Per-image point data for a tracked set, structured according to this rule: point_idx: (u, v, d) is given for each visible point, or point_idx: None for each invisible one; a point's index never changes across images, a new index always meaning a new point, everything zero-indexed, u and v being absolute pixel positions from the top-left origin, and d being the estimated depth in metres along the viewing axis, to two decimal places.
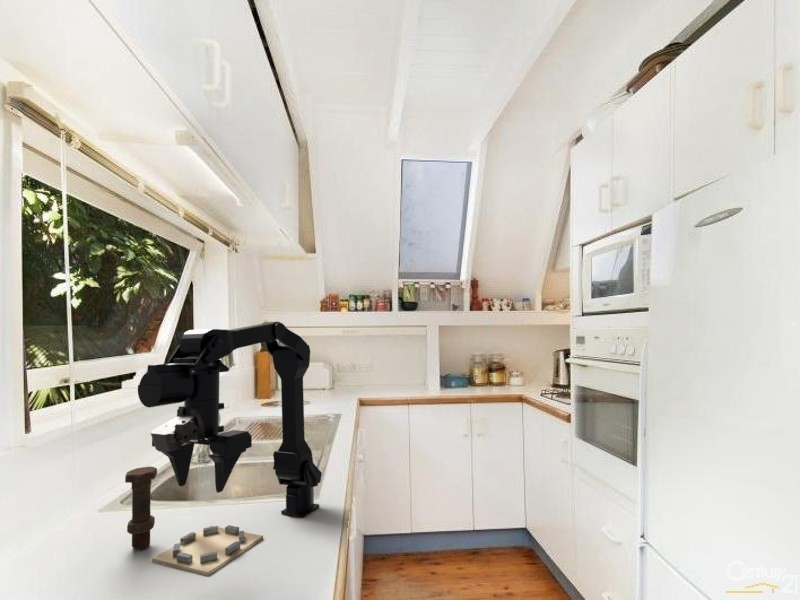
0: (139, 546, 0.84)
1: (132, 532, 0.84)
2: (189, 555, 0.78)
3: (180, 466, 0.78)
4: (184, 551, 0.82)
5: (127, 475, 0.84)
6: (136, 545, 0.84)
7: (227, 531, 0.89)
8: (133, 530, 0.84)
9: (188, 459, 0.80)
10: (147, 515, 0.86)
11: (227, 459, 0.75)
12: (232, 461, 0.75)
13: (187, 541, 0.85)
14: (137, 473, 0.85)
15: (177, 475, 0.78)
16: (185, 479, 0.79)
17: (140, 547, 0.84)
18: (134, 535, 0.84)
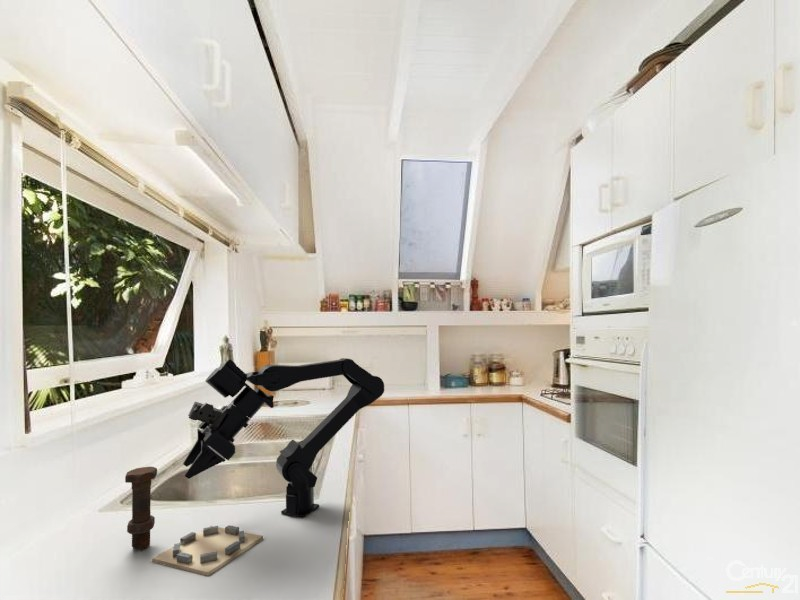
0: (139, 546, 0.84)
1: (132, 532, 0.84)
2: (189, 555, 0.78)
3: (195, 451, 0.96)
4: (184, 551, 0.82)
5: (127, 475, 0.84)
6: (136, 545, 0.84)
7: (227, 531, 0.89)
8: (133, 530, 0.84)
9: None
10: (147, 515, 0.86)
11: (209, 457, 0.87)
12: (211, 462, 0.87)
13: (187, 541, 0.85)
14: (137, 473, 0.85)
15: None
16: (190, 463, 0.95)
17: (140, 547, 0.84)
18: (134, 535, 0.84)
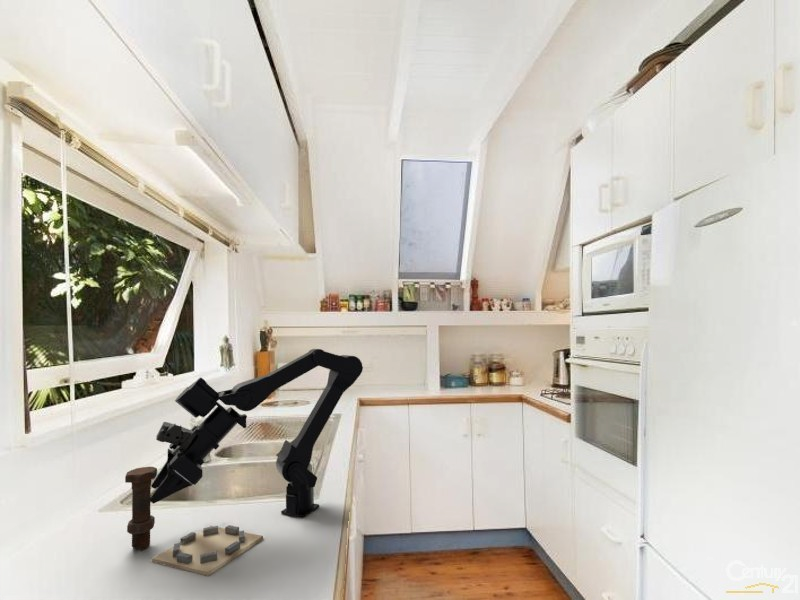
0: (139, 546, 0.84)
1: (132, 532, 0.84)
2: (189, 555, 0.78)
3: (164, 472, 0.93)
4: (184, 551, 0.82)
5: (127, 475, 0.84)
6: (136, 545, 0.84)
7: (227, 531, 0.89)
8: (133, 530, 0.84)
9: None
10: (147, 515, 0.86)
11: (176, 481, 0.84)
12: (177, 486, 0.84)
13: (187, 541, 0.85)
14: (137, 473, 0.85)
15: (157, 476, 0.92)
16: (158, 485, 0.91)
17: (140, 547, 0.84)
18: (134, 535, 0.84)
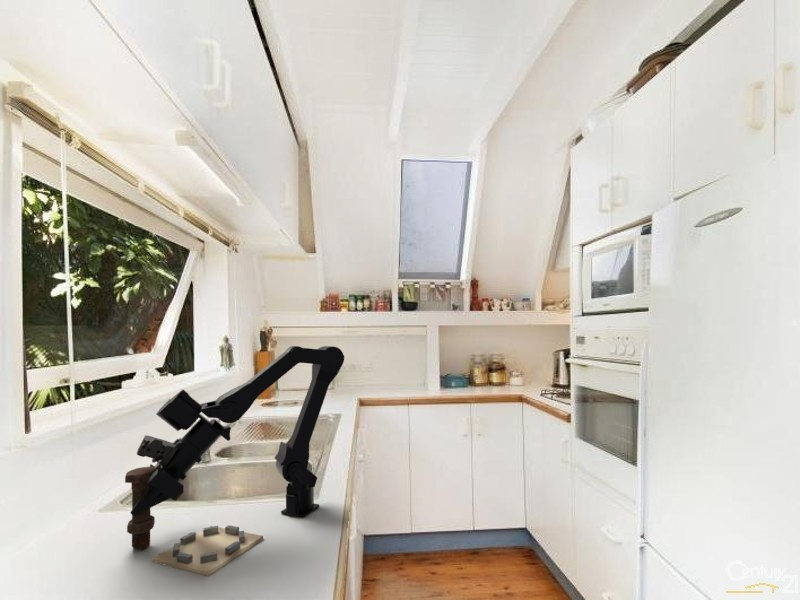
0: (139, 546, 0.84)
1: (132, 532, 0.84)
2: (189, 555, 0.78)
3: None
4: (184, 551, 0.82)
5: (127, 475, 0.84)
6: (136, 545, 0.84)
7: (227, 531, 0.89)
8: (133, 530, 0.84)
9: None
10: (147, 515, 0.85)
11: (157, 493, 0.84)
12: (158, 498, 0.84)
13: (187, 541, 0.85)
14: (137, 473, 0.85)
15: None
16: None
17: (140, 547, 0.84)
18: (134, 535, 0.84)
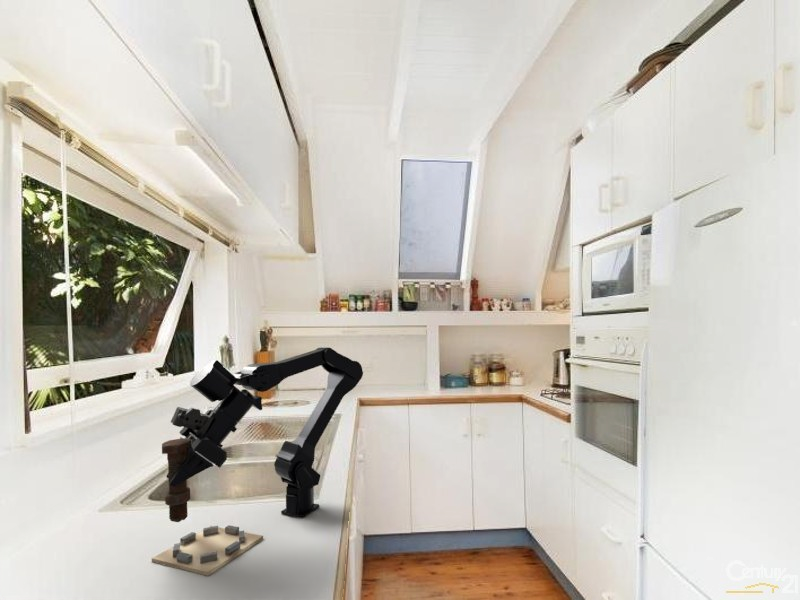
0: (178, 517, 0.83)
1: (171, 503, 0.82)
2: (189, 555, 0.78)
3: None
4: (184, 551, 0.82)
5: (164, 446, 0.82)
6: (175, 516, 0.83)
7: (227, 531, 0.89)
8: (172, 501, 0.82)
9: None
10: (184, 486, 0.84)
11: (196, 462, 0.83)
12: (198, 468, 0.83)
13: (187, 541, 0.85)
14: (174, 444, 0.83)
15: None
16: None
17: (179, 518, 0.83)
18: (172, 506, 0.83)
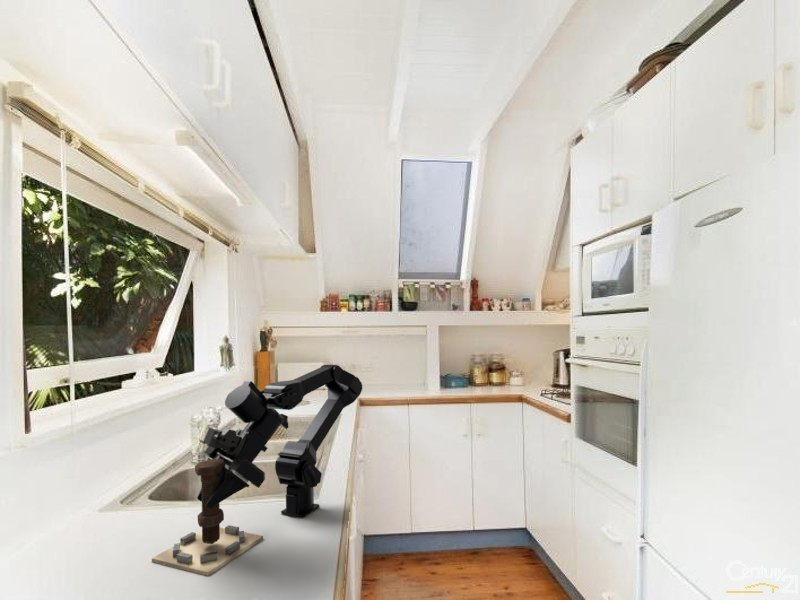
0: (212, 539, 0.83)
1: (206, 525, 0.82)
2: (189, 555, 0.78)
3: None
4: (184, 551, 0.82)
5: (199, 468, 0.82)
6: (209, 538, 0.83)
7: (227, 531, 0.89)
8: (207, 523, 0.82)
9: None
10: (218, 507, 0.84)
11: (231, 483, 0.84)
12: (233, 488, 0.84)
13: (187, 541, 0.85)
14: (209, 465, 0.83)
15: None
16: None
17: (213, 540, 0.83)
18: (206, 528, 0.83)
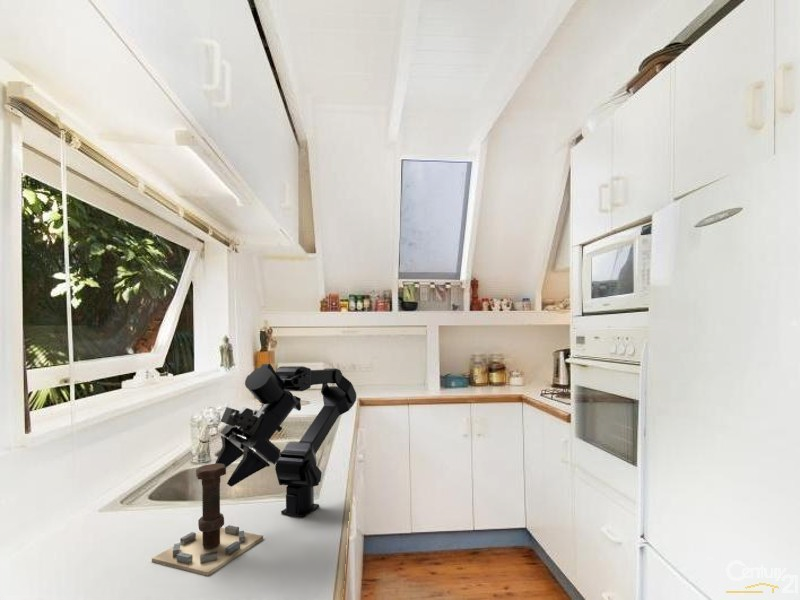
0: (212, 544, 0.83)
1: (206, 530, 0.82)
2: (189, 555, 0.78)
3: (223, 458, 0.91)
4: (184, 551, 0.82)
5: (200, 472, 0.83)
6: (209, 543, 0.83)
7: (227, 531, 0.89)
8: (207, 528, 0.82)
9: (231, 460, 0.93)
10: (218, 512, 0.84)
11: (252, 463, 0.85)
12: (254, 468, 0.85)
13: (187, 541, 0.85)
14: (210, 469, 0.83)
15: None
16: None
17: (213, 545, 0.83)
18: (206, 533, 0.83)
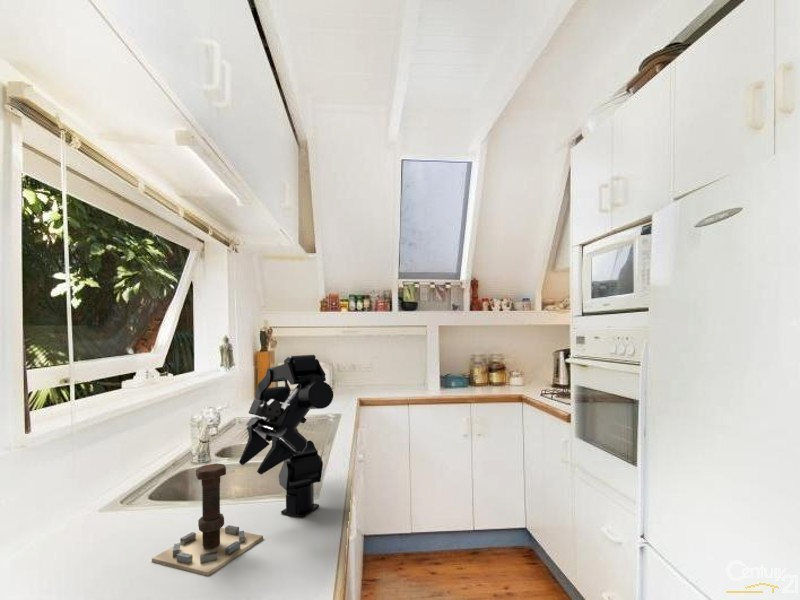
0: (212, 544, 0.83)
1: (206, 530, 0.82)
2: (189, 555, 0.78)
3: (250, 449, 0.95)
4: (184, 551, 0.82)
5: (200, 472, 0.83)
6: (209, 543, 0.83)
7: (227, 531, 0.89)
8: (207, 528, 0.82)
9: (257, 450, 0.96)
10: (218, 512, 0.84)
11: (280, 452, 0.89)
12: (282, 457, 0.89)
13: (187, 541, 0.85)
14: (210, 469, 0.83)
15: (244, 453, 0.94)
16: (245, 461, 0.94)
17: (213, 545, 0.83)
18: (207, 533, 0.83)
